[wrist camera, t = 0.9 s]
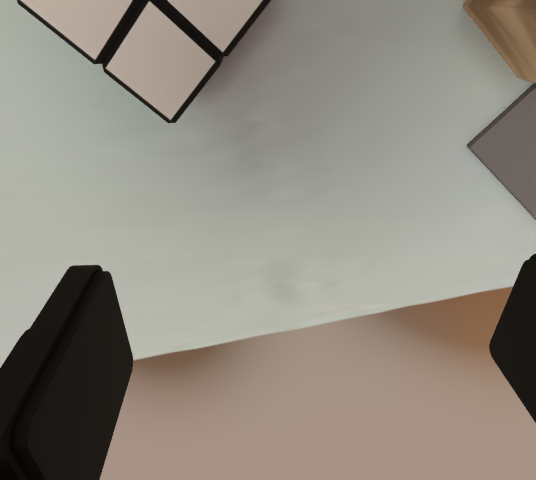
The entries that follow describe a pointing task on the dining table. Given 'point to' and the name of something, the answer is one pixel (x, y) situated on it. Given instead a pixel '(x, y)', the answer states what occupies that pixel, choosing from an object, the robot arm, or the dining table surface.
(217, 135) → the dining table surface
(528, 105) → the mat
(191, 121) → the dining table surface
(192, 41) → the puzzle cube
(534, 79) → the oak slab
